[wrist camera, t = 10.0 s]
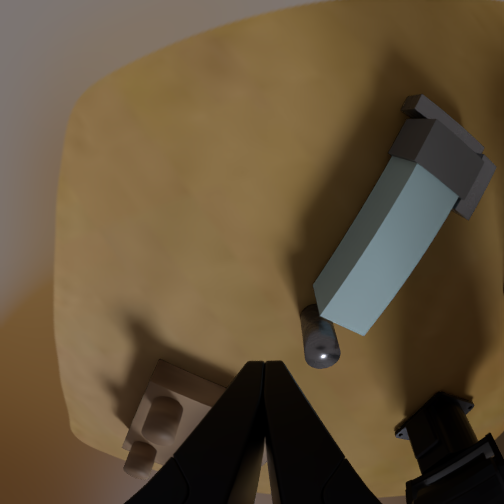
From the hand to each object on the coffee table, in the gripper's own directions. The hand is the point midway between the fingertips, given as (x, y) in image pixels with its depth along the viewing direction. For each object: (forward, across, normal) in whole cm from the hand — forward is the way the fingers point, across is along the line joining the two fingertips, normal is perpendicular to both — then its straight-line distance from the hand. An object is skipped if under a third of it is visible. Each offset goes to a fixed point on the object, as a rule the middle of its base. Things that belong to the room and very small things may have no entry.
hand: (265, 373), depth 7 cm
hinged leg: (+12, -7, 0) cm, 14 cm away
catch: (+12, -10, -4) cm, 16 cm away
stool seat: (+12, +6, +18) cm, 23 cm away
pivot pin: (+12, -3, +6) cm, 14 cm away
